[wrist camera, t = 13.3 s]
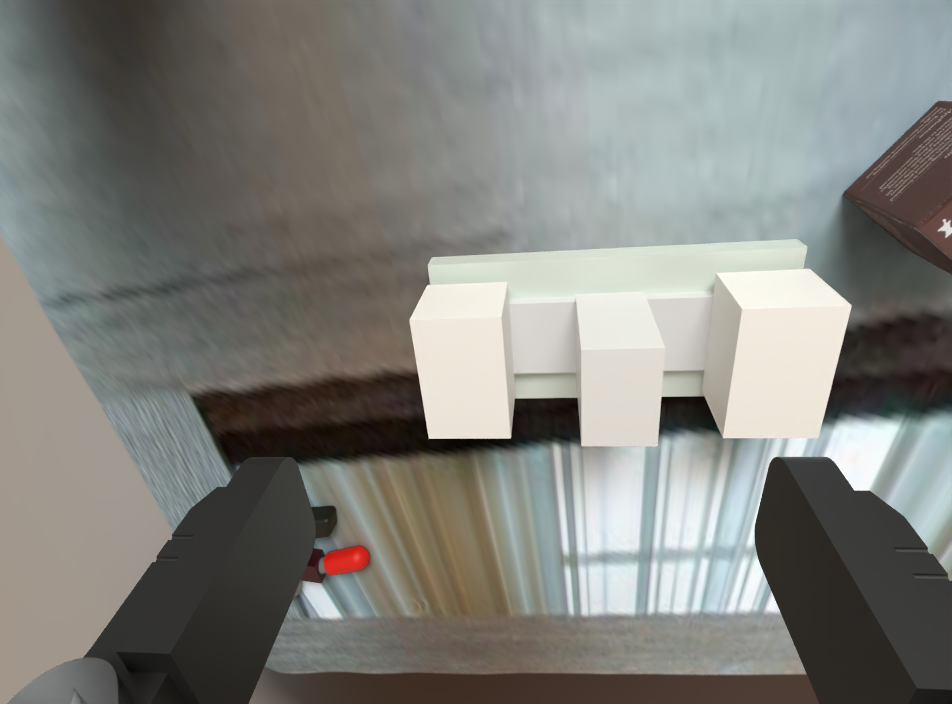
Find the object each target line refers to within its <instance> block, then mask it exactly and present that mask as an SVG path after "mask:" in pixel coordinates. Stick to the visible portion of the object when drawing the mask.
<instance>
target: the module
mask: <svg viewBox="0 0 952 704" xmlns="http://www.w3.org/2000/svg"><path fill="white" fill-rule="evenodd" d="M664 358H665V346H664V343H663V341H662V338H661V335H660V333H659V330H658V327H657V325H656V322H655V319H654V317H653V314H652V311H651V309H650V306H649V304H648V301H647V298H646V296H645V293H644V292H623V293H597V294H576V383H577V396H578V409H579V422H580V434H581V446H657V445H658V432H659V420H660V408H661V395H662V383H663V370H664Z"/></svg>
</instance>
